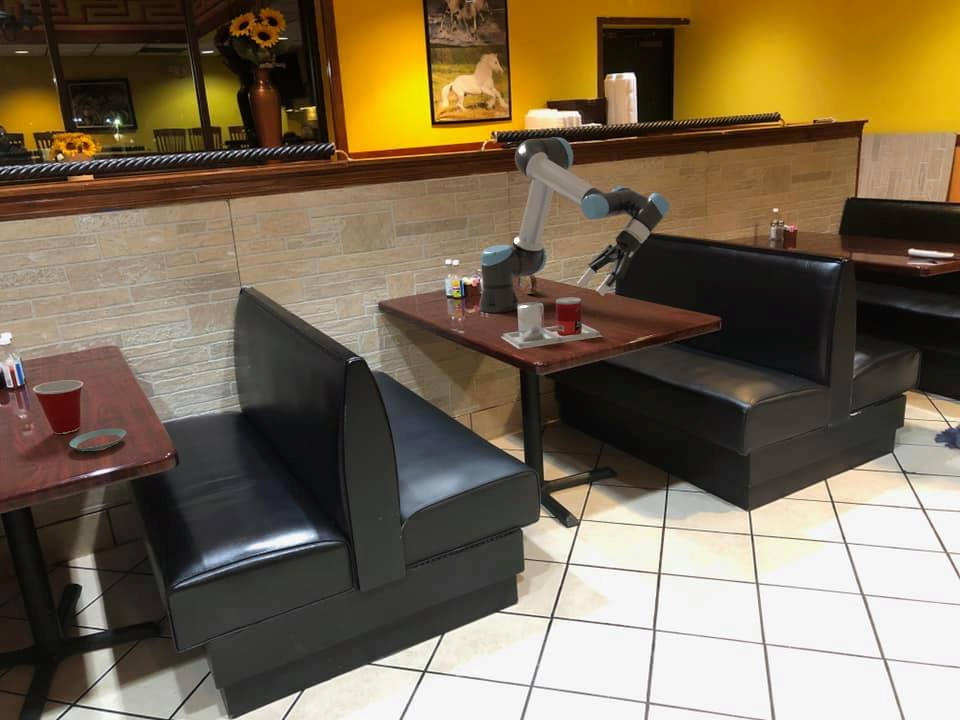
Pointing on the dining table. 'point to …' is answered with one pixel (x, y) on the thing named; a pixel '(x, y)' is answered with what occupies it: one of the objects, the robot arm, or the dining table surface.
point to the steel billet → (531, 321)
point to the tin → (527, 284)
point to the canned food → (568, 316)
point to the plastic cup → (61, 404)
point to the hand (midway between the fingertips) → (589, 289)
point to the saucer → (93, 434)
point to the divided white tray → (550, 337)
